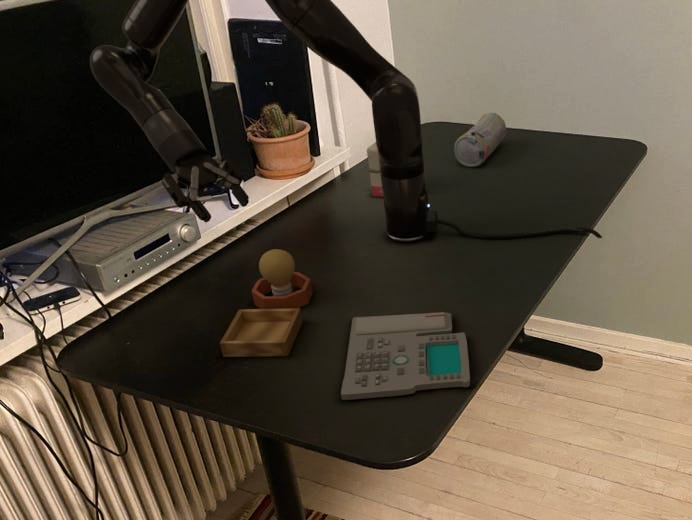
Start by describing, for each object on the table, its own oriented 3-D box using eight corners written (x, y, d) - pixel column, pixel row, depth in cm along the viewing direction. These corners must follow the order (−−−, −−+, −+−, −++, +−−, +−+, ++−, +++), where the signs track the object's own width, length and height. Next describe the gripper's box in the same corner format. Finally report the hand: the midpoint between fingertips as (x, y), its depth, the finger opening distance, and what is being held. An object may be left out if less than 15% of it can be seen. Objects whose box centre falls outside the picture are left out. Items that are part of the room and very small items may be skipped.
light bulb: (307, 292, 140) (298, 245, 134) (289, 309, 135) (279, 260, 130) (278, 288, 142) (268, 241, 136) (260, 304, 137) (249, 256, 131)
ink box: (389, 198, 178) (384, 150, 171) (371, 196, 179) (365, 149, 173) (403, 185, 185) (398, 139, 178) (386, 183, 186) (380, 137, 179)
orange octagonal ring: (316, 285, 143) (313, 271, 141) (304, 311, 134) (301, 297, 133) (264, 286, 143) (261, 272, 141) (250, 312, 135) (246, 298, 133)
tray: (302, 321, 131) (300, 308, 130) (288, 356, 122) (285, 342, 121) (242, 322, 132) (239, 309, 130) (223, 357, 123) (219, 343, 121)
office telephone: (350, 310, 129) (462, 302, 130) (352, 323, 131) (463, 315, 131) (339, 387, 110) (471, 377, 111) (342, 401, 111) (471, 391, 112)
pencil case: (483, 170, 192) (482, 134, 186) (453, 167, 194) (451, 132, 189) (507, 145, 208) (507, 111, 202) (479, 142, 210) (478, 109, 205)
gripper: (144, 139, 127) (201, 215, 128) (212, 118, 137) (264, 189, 138) (136, 163, 133) (190, 235, 134) (201, 142, 142) (252, 209, 143)
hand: (227, 211), depth 136 cm, fingers open, 8 cm apart
